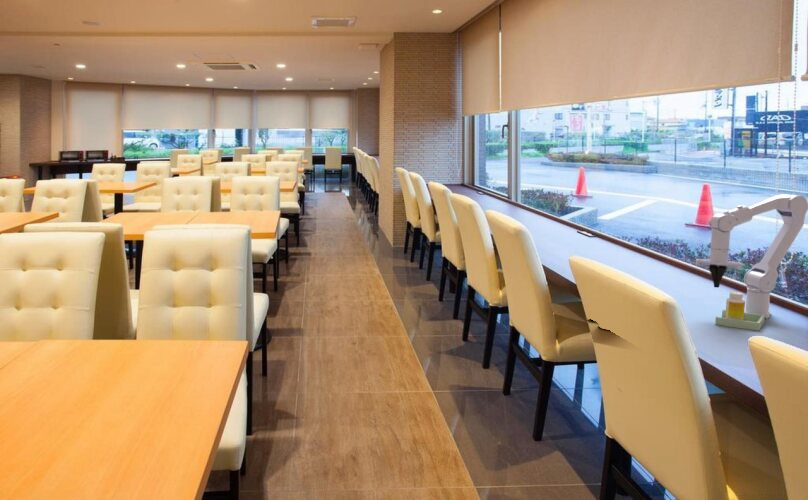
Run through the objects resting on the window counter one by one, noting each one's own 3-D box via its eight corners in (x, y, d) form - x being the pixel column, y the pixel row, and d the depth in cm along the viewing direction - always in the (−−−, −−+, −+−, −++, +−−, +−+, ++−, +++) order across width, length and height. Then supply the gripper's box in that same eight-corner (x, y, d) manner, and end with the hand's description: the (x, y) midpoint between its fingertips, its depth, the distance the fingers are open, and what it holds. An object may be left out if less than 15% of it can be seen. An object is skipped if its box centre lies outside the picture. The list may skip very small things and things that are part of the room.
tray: (722, 316, 229) (722, 309, 229) (764, 322, 222) (764, 315, 221) (715, 324, 219) (715, 317, 218) (758, 330, 211) (759, 323, 211)
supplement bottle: (746, 324, 218) (749, 294, 217) (730, 324, 218) (732, 294, 217) (737, 320, 224) (740, 291, 222) (721, 320, 224) (724, 291, 222)
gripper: (694, 248, 228) (692, 286, 230) (740, 251, 219) (737, 291, 221) (699, 245, 233) (696, 283, 235) (744, 249, 225) (740, 288, 227)
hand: (716, 286), depth 229 cm, fingers closed
